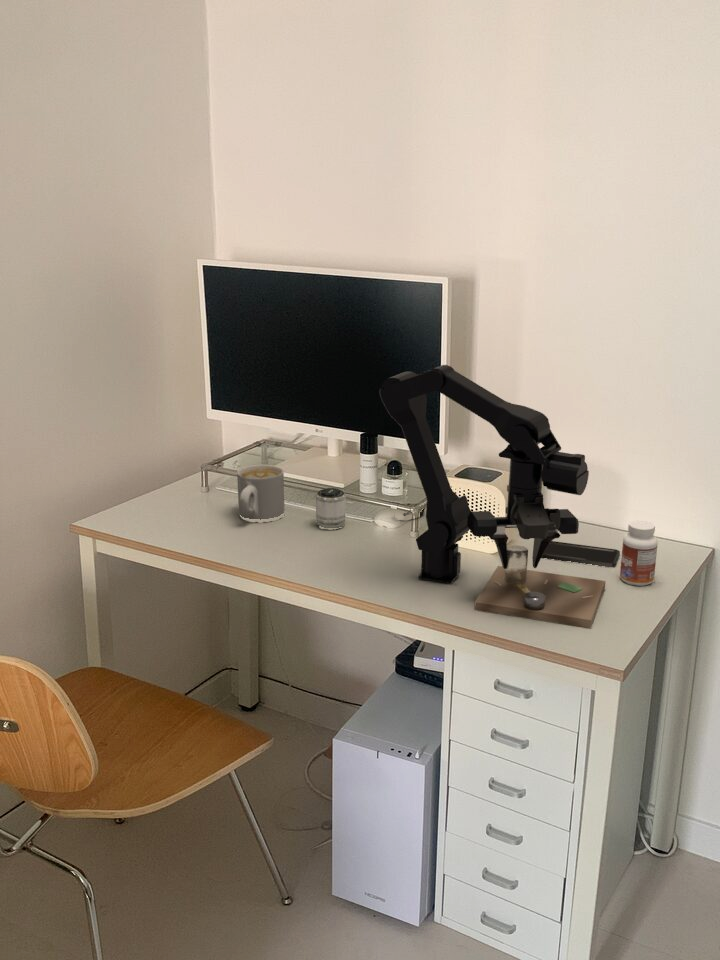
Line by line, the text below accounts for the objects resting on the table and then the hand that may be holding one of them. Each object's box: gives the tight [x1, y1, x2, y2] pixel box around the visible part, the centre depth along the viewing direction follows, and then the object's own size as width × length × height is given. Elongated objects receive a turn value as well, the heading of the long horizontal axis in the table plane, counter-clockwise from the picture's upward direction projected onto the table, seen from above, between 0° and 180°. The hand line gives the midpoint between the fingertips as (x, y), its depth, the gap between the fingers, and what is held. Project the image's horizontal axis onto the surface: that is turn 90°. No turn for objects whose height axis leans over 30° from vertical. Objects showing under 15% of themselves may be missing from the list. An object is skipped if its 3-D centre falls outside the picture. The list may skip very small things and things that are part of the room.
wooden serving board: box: [474, 565, 606, 629], centre depth 182 cm, size 20×17×2 cm
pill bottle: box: [619, 519, 659, 587], centre depth 188 cm, size 6×6×11 cm
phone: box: [541, 540, 621, 568], centre depth 201 cm, size 8×1×15 cm
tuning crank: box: [504, 544, 546, 609], centre depth 179 cm, size 13×4×7 cm, turn 17°
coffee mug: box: [236, 464, 285, 520], centre depth 220 cm, size 13×10×10 cm
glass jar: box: [315, 487, 347, 528], centre depth 216 cm, size 6×6×8 cm
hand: (519, 567), depth 182 cm, fingers open, 5 cm apart
